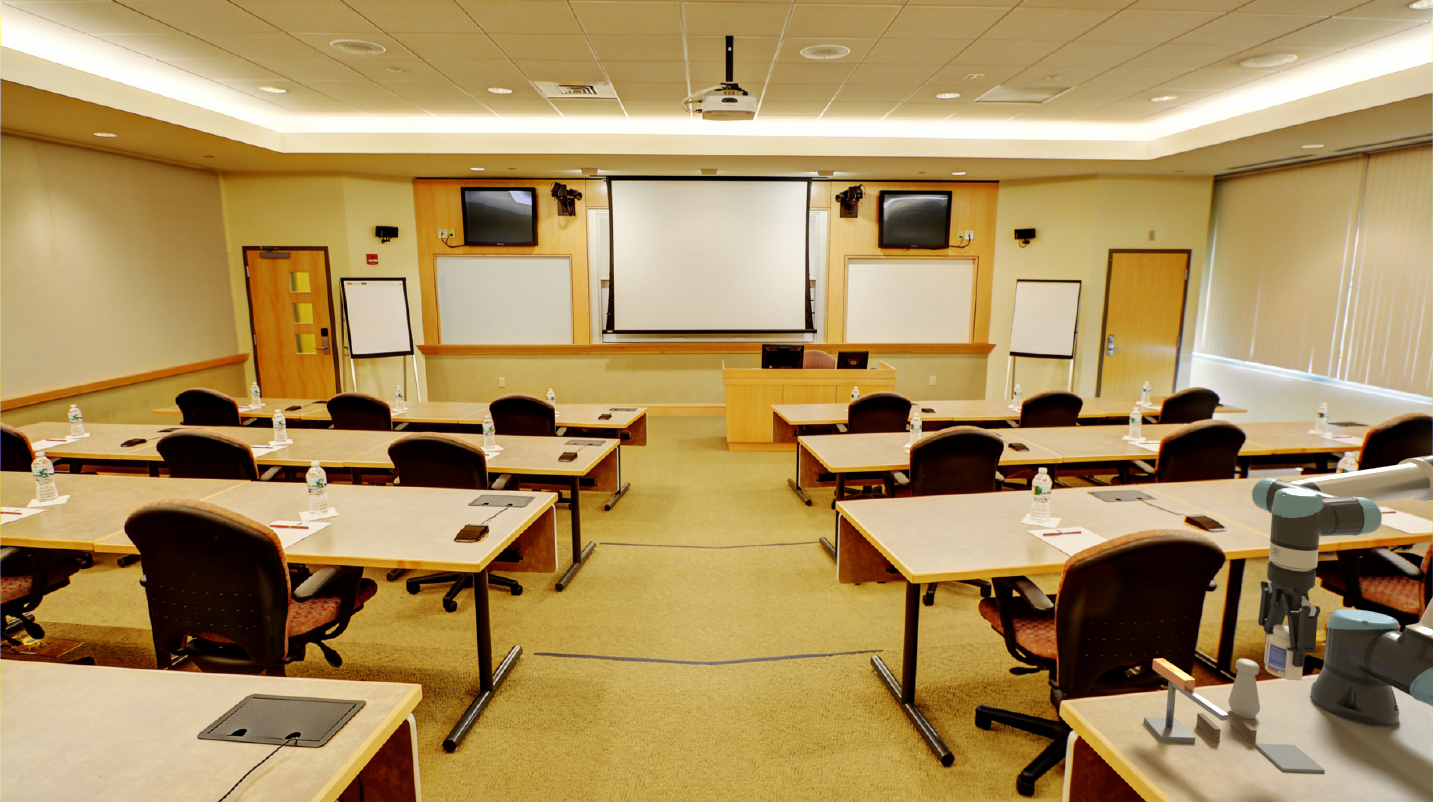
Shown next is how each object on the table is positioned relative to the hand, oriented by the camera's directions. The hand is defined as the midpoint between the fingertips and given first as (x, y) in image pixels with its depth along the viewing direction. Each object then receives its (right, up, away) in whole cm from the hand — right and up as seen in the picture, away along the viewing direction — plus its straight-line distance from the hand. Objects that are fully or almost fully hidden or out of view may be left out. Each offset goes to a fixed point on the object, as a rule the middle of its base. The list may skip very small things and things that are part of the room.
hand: (1282, 670), depth 141 cm
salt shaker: (+4, -17, +16) cm, 24 cm away
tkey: (-17, -17, +5) cm, 24 cm away
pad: (+2, -19, 0) cm, 19 cm away
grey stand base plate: (-17, -18, +10) cm, 27 cm away
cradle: (-5, -18, +9) cm, 20 cm away
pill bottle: (0, -1, 0) cm, 1 cm away
